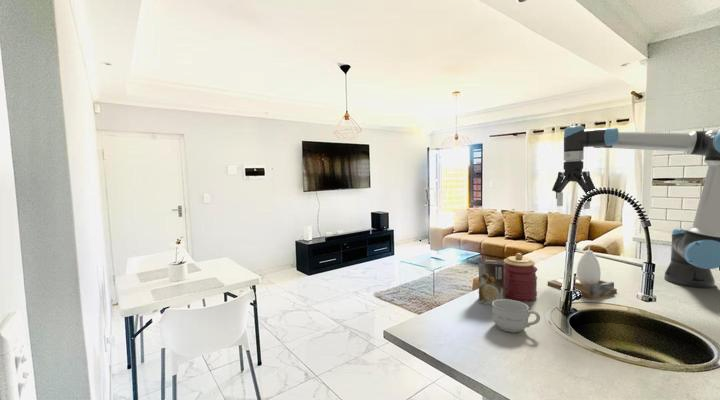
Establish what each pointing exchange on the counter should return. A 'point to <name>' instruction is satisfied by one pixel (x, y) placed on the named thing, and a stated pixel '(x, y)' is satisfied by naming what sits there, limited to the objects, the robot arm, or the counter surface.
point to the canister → (520, 278)
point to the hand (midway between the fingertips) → (572, 207)
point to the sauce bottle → (588, 269)
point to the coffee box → (491, 280)
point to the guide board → (589, 288)
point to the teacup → (512, 315)
